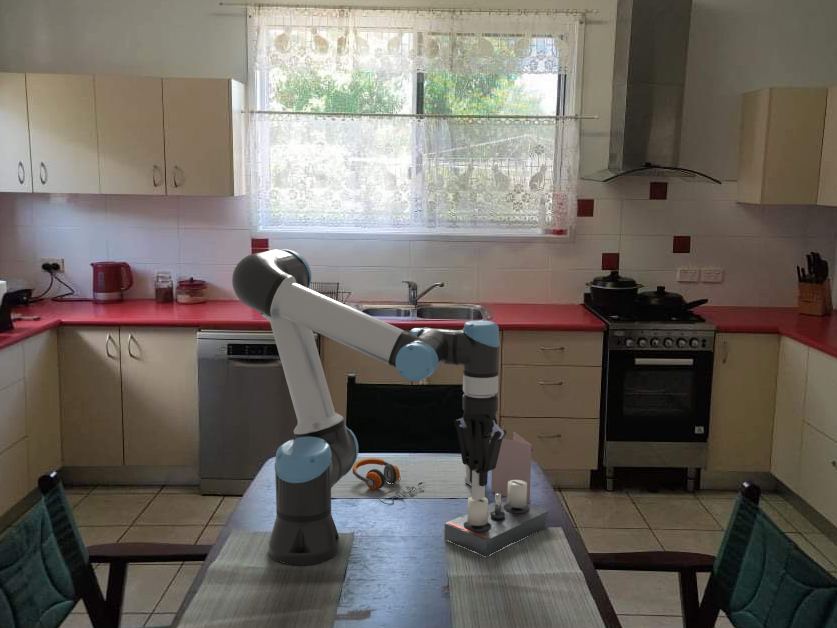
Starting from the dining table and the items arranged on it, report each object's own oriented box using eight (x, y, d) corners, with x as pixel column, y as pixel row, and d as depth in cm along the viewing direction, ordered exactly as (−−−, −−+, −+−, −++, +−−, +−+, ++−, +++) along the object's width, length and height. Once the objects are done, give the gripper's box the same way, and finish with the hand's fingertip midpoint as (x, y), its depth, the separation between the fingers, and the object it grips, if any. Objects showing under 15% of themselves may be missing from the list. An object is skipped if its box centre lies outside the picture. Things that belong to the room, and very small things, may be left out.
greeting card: (532, 502, 201) (534, 444, 199) (505, 505, 199) (506, 447, 197) (514, 486, 212) (516, 430, 210) (488, 488, 210) (489, 433, 208)
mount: (444, 540, 180) (444, 522, 179) (506, 512, 195) (507, 495, 195) (486, 558, 172) (486, 539, 171) (547, 527, 187) (548, 510, 186)
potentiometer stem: (487, 516, 183) (488, 494, 182) (496, 513, 185) (497, 490, 184) (498, 521, 181) (499, 498, 180) (507, 517, 183) (508, 494, 182)
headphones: (390, 497, 197) (338, 460, 209) (387, 516, 199) (335, 478, 211) (437, 480, 209) (385, 446, 221) (433, 498, 211) (381, 463, 223)
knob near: (463, 521, 178) (463, 499, 177) (476, 515, 181) (476, 493, 180) (478, 527, 175) (479, 505, 174) (491, 521, 178) (492, 499, 177)
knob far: (503, 503, 188) (503, 482, 187) (515, 498, 191) (515, 478, 190) (518, 509, 184) (519, 487, 184) (530, 504, 188) (530, 482, 187)
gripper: (515, 396, 171) (512, 502, 175) (468, 384, 180) (467, 485, 184) (492, 402, 166) (490, 511, 170) (446, 390, 175) (444, 494, 179)
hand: (478, 498), depth 177 cm, fingers closed
